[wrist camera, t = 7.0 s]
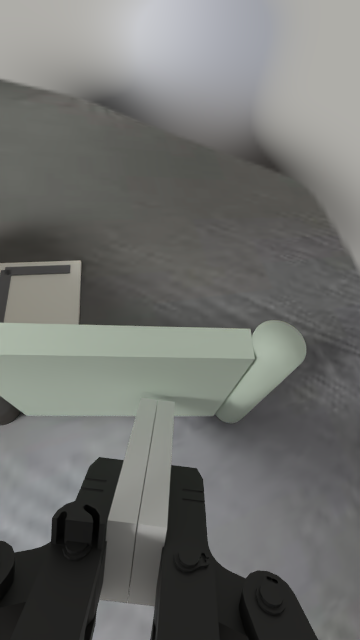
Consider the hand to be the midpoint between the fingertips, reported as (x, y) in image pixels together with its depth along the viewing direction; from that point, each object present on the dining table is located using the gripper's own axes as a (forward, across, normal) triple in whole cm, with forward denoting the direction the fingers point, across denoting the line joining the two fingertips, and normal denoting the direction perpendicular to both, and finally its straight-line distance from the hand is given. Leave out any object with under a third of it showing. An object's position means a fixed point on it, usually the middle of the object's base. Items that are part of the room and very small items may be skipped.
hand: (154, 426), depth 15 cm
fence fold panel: (+4, -1, -1) cm, 4 cm away
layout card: (+9, -9, +3) cm, 13 cm away
